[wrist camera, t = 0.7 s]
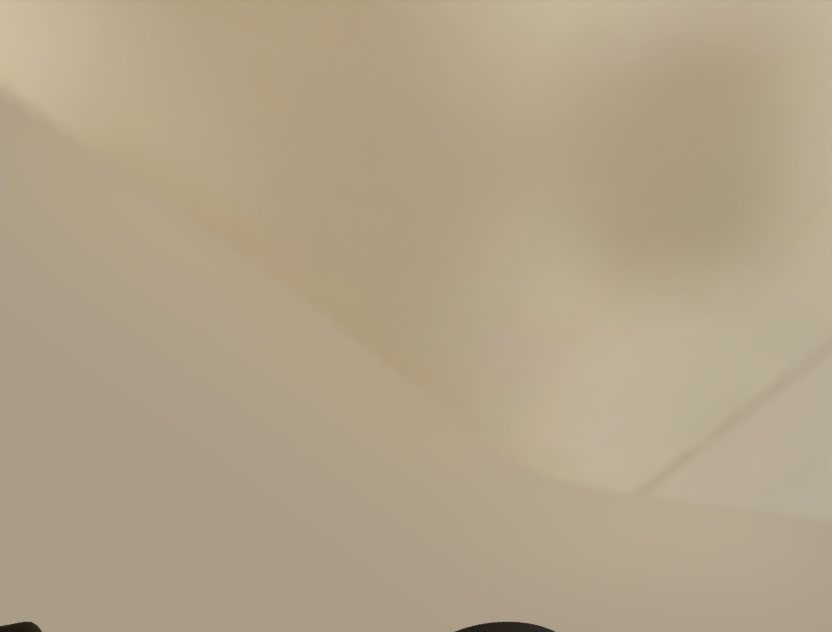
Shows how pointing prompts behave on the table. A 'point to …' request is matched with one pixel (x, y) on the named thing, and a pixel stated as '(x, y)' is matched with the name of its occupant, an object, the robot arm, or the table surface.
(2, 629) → the robot arm
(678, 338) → the table surface
